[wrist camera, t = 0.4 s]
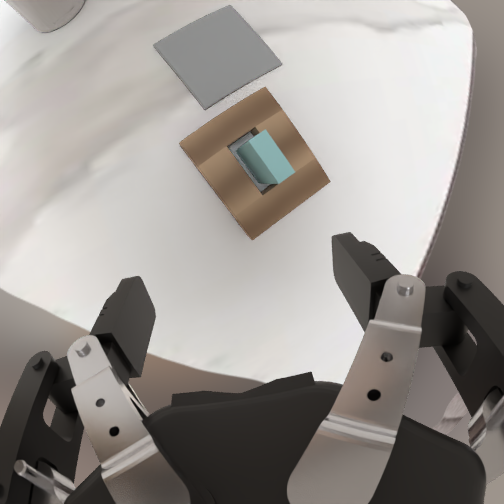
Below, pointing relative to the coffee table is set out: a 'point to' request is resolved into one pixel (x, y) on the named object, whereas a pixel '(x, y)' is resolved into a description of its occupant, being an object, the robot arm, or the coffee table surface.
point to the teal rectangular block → (265, 159)
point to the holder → (234, 176)
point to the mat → (217, 55)
